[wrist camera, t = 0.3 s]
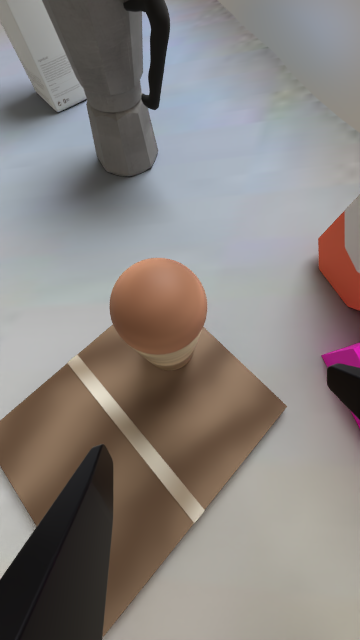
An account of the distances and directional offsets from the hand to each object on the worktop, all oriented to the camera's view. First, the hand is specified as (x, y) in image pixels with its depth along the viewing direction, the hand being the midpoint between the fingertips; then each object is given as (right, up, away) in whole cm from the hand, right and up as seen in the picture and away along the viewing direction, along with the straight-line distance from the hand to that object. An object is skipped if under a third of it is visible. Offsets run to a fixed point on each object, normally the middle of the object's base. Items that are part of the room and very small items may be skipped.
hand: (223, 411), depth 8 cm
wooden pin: (-3, +1, +14) cm, 14 cm away
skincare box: (-23, +43, +29) cm, 56 cm away
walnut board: (-6, -6, +12) cm, 15 cm away
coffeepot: (-9, +28, +24) cm, 38 cm away
